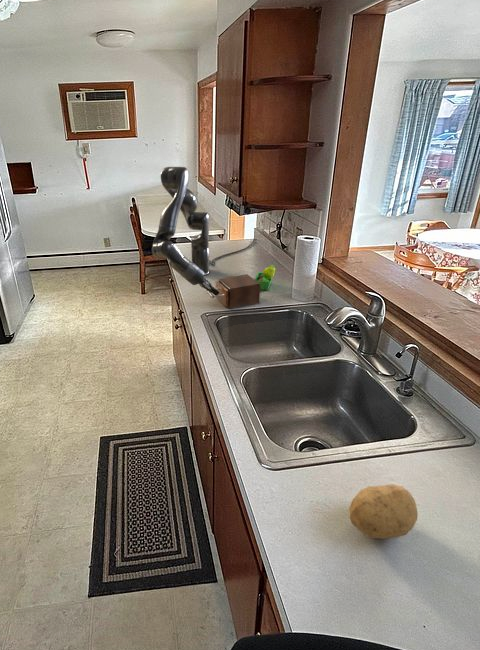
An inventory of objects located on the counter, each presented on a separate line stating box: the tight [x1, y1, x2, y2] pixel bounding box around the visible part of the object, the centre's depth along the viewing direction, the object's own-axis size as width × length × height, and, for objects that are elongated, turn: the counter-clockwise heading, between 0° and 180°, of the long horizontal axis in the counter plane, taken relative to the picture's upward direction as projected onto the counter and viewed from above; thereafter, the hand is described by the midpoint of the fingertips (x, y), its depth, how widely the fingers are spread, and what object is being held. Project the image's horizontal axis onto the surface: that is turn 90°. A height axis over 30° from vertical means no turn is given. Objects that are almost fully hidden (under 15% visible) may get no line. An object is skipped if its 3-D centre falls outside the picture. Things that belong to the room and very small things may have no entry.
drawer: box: [204, 280, 229, 308], centre depth 176 cm, size 19×11×8 cm, turn 108°
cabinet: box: [218, 273, 261, 309], centre depth 178 cm, size 15×13×10 cm
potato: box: [348, 483, 419, 539], centre depth 78 cm, size 10×14×8 cm
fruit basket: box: [254, 264, 276, 291], centre depth 190 cm, size 11×9×11 cm
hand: (217, 293), depth 175 cm, fingers closed
